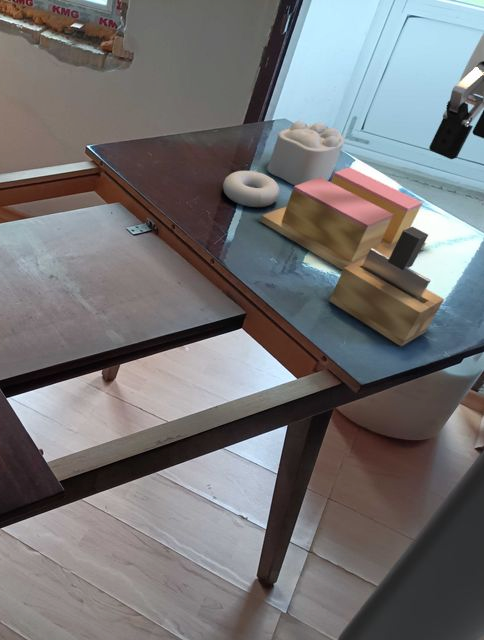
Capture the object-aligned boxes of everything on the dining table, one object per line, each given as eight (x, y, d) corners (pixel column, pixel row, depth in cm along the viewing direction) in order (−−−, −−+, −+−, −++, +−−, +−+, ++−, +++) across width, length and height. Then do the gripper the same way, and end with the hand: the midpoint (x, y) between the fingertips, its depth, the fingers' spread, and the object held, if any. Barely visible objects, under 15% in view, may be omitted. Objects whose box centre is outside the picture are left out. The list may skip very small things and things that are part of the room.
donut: (253, 181, 130) (210, 187, 127) (259, 164, 128) (215, 170, 125) (287, 207, 123) (242, 214, 120) (293, 189, 121) (247, 196, 118)
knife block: (424, 332, 98) (444, 299, 94) (400, 346, 95) (420, 312, 91) (353, 289, 105) (368, 256, 101) (328, 301, 102) (343, 267, 98)
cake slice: (405, 237, 115) (423, 202, 111) (391, 244, 113) (408, 208, 109) (335, 200, 123) (349, 167, 119) (320, 206, 122) (334, 172, 117)
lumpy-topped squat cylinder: (260, 168, 134) (273, 125, 129) (300, 153, 141) (314, 112, 135) (304, 190, 128) (320, 146, 123) (344, 174, 135) (361, 131, 129)
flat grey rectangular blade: (408, 324, 97) (452, 246, 89) (399, 329, 96) (443, 251, 88) (354, 291, 103) (390, 215, 94) (345, 295, 102) (381, 219, 93)
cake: (423, 249, 115) (444, 208, 110) (359, 280, 107) (379, 237, 102) (324, 197, 127) (339, 157, 122) (259, 221, 119) (273, 180, 114)
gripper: (541, 9, 65) (454, 174, 76) (618, -9, 73) (529, 144, 84) (466, -11, 69) (394, 148, 81) (546, -26, 77) (471, 121, 89)
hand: (463, 146), depth 82 cm, fingers open, 9 cm apart
